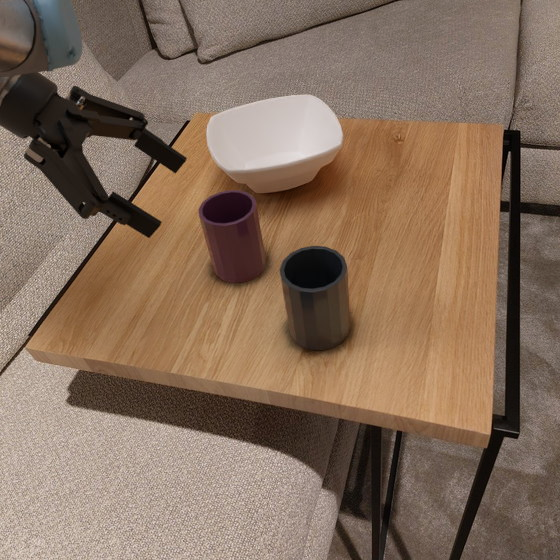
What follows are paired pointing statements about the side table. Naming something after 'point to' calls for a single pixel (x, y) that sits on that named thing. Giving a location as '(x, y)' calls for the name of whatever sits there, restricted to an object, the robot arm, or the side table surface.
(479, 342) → the side table surface
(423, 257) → the side table surface
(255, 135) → the bowl
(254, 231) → the plum cup
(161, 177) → the side table surface
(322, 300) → the slate cup
